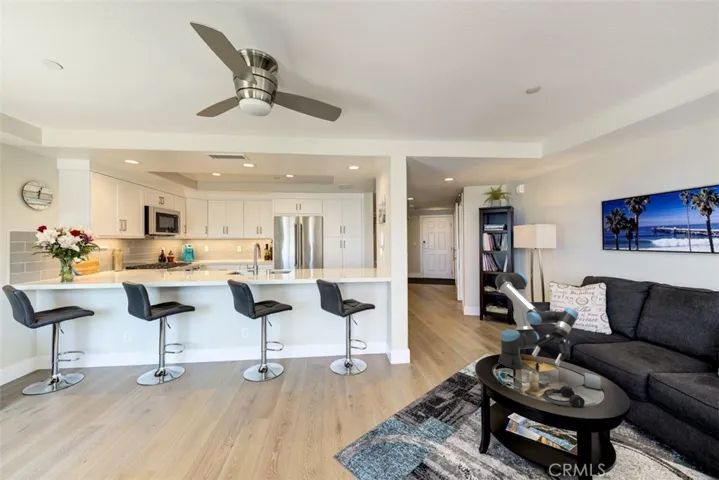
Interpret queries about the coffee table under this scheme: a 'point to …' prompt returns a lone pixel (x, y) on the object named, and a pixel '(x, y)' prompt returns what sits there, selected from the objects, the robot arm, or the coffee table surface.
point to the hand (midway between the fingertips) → (544, 360)
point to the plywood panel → (535, 394)
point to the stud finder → (543, 383)
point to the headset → (567, 393)
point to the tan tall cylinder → (534, 380)
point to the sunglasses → (503, 375)
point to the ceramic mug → (592, 381)
